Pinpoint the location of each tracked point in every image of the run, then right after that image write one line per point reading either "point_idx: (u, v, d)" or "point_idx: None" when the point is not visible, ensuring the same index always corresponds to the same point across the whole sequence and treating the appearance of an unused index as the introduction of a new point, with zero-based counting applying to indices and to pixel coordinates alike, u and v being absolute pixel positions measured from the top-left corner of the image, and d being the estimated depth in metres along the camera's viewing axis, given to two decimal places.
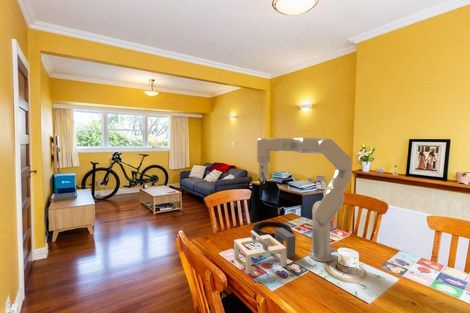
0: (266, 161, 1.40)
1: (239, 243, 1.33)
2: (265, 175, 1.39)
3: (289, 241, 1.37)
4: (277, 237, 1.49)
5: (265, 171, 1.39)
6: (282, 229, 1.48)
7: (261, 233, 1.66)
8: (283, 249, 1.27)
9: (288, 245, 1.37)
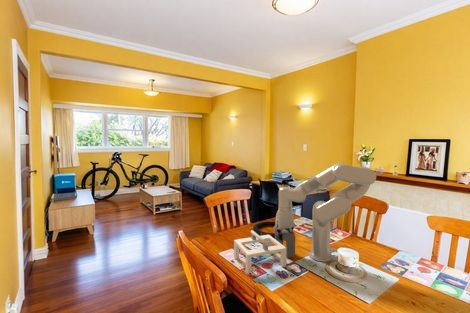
0: None
1: (239, 243, 1.33)
2: None
3: (289, 241, 1.37)
4: (277, 237, 1.49)
5: None
6: None
7: (261, 233, 1.66)
8: (283, 249, 1.27)
9: (288, 245, 1.37)
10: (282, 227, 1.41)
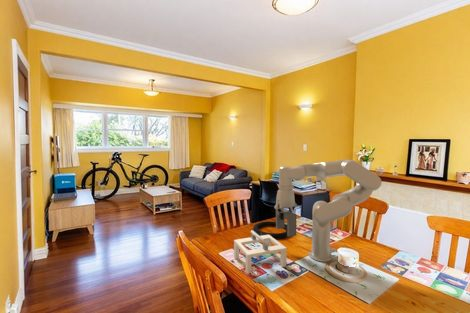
0: None
1: (239, 243, 1.33)
2: None
3: (290, 219, 1.36)
4: (278, 217, 1.48)
5: None
6: (283, 209, 1.47)
7: (261, 233, 1.66)
8: (283, 249, 1.27)
9: (289, 223, 1.36)
10: (283, 206, 1.40)
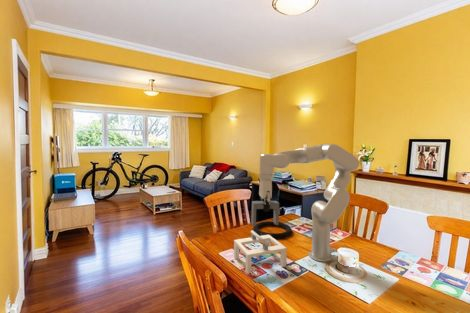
0: None
1: (239, 243, 1.33)
2: None
3: None
4: None
5: None
6: (257, 201, 1.35)
7: (261, 233, 1.66)
8: (283, 249, 1.27)
9: None
10: None
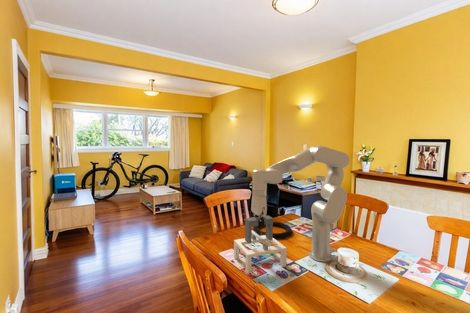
0: None
1: (239, 243, 1.33)
2: None
3: None
4: None
5: None
6: (251, 218, 1.31)
7: (261, 233, 1.66)
8: (283, 249, 1.27)
9: None
10: None
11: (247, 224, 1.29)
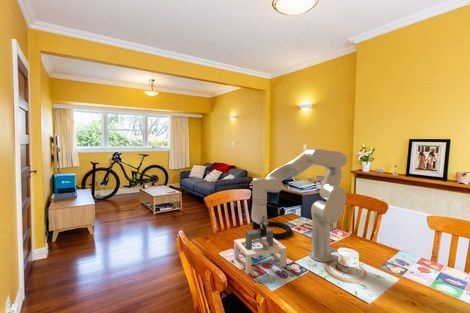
0: None
1: (239, 243, 1.33)
2: None
3: None
4: None
5: None
6: (251, 231, 1.32)
7: None
8: (283, 249, 1.27)
9: None
10: None
11: (247, 237, 1.30)
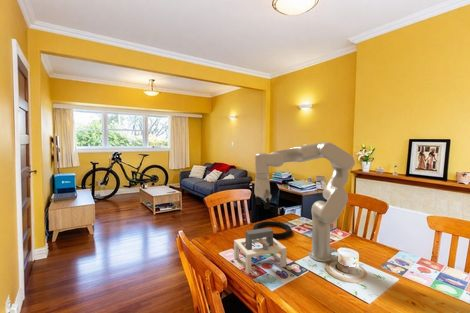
0: None
1: (239, 243, 1.33)
2: None
3: None
4: None
5: None
6: (251, 231, 1.32)
7: None
8: (283, 249, 1.27)
9: None
10: None
11: (247, 237, 1.30)
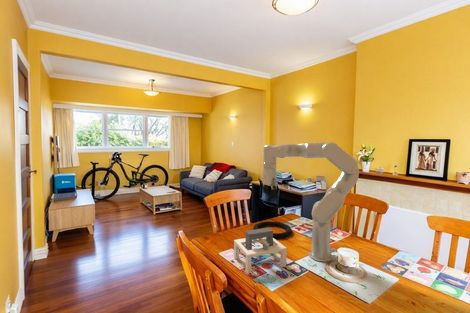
0: None
1: (239, 243, 1.33)
2: None
3: None
4: None
5: None
6: (251, 231, 1.32)
7: None
8: (283, 249, 1.27)
9: None
10: None
11: (247, 237, 1.30)
